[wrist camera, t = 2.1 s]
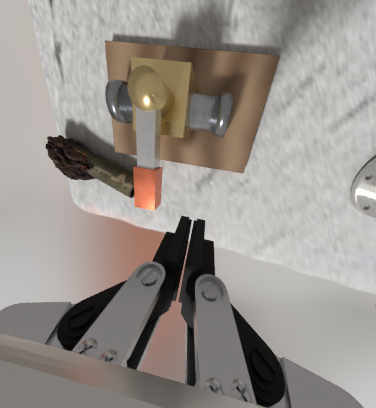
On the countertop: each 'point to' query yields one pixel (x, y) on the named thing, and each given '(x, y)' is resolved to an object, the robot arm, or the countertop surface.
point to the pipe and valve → (174, 101)
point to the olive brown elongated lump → (88, 165)
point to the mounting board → (207, 84)
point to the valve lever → (148, 133)
